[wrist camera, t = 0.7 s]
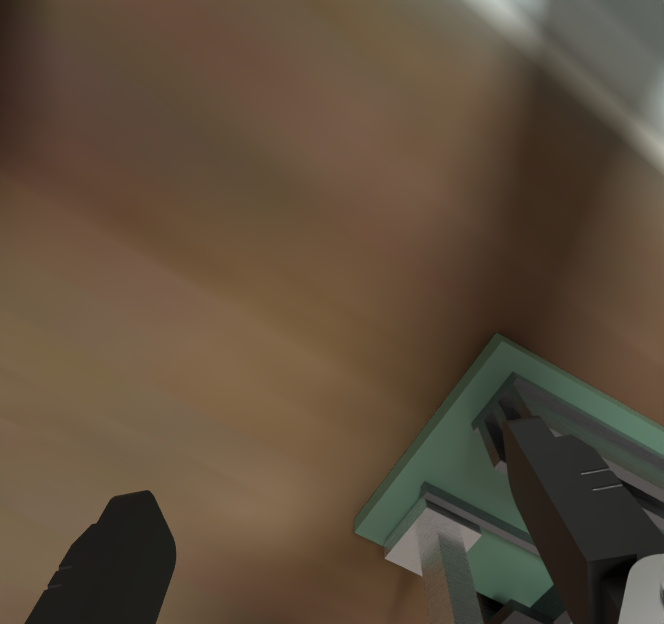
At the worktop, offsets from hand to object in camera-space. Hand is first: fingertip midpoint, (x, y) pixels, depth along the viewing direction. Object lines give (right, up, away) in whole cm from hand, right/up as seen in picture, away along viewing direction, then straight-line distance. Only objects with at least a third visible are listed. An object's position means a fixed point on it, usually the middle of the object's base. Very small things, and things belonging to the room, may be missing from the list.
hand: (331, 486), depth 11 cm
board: (+16, -11, +28) cm, 35 cm away
